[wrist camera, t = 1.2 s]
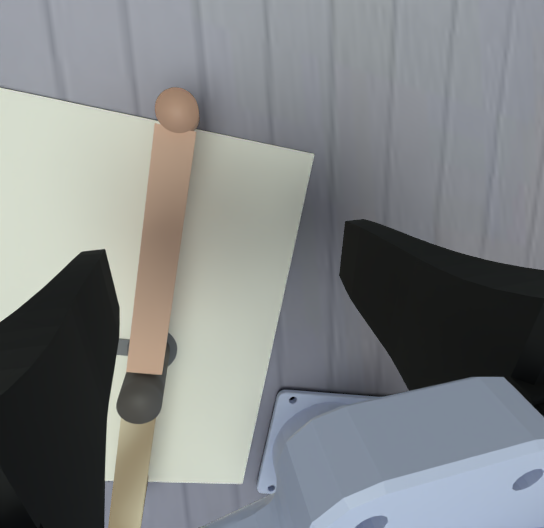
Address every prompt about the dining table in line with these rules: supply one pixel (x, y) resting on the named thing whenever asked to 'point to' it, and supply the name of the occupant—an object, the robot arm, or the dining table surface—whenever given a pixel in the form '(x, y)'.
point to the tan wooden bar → (162, 228)
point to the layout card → (190, 271)
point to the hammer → (135, 444)
